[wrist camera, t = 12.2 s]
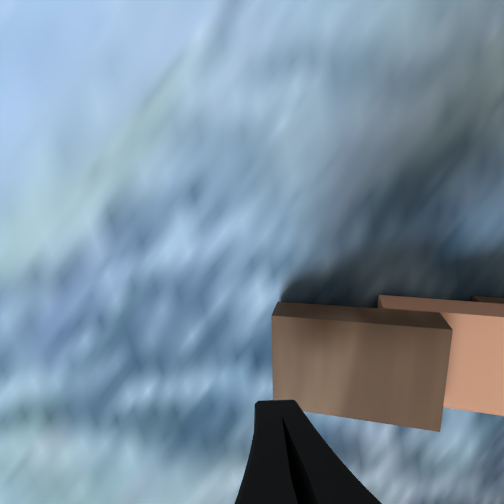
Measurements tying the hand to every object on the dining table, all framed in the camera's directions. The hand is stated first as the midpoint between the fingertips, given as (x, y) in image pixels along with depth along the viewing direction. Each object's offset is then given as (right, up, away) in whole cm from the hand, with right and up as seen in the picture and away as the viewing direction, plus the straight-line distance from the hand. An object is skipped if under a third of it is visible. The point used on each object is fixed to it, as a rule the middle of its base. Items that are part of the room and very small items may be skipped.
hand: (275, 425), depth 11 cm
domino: (0, +1, +4) cm, 5 cm away
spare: (+5, +1, +5) cm, 7 cm away
